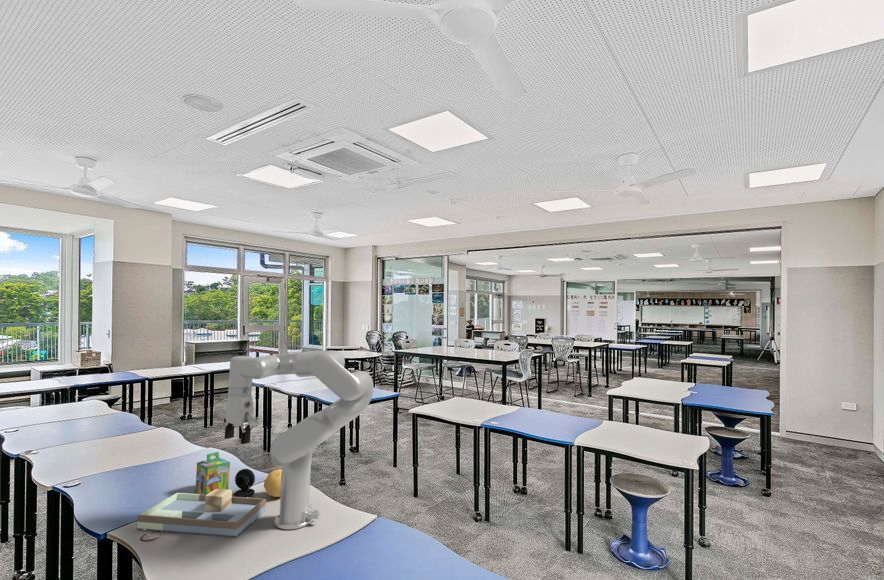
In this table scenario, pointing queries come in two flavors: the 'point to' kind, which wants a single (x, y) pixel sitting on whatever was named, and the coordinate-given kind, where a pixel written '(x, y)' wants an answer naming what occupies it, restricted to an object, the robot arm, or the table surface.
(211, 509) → the block
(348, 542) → the table surface
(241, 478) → the webcam
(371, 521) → the table surface
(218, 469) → the chalk box
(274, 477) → the stress ball
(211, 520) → the box
